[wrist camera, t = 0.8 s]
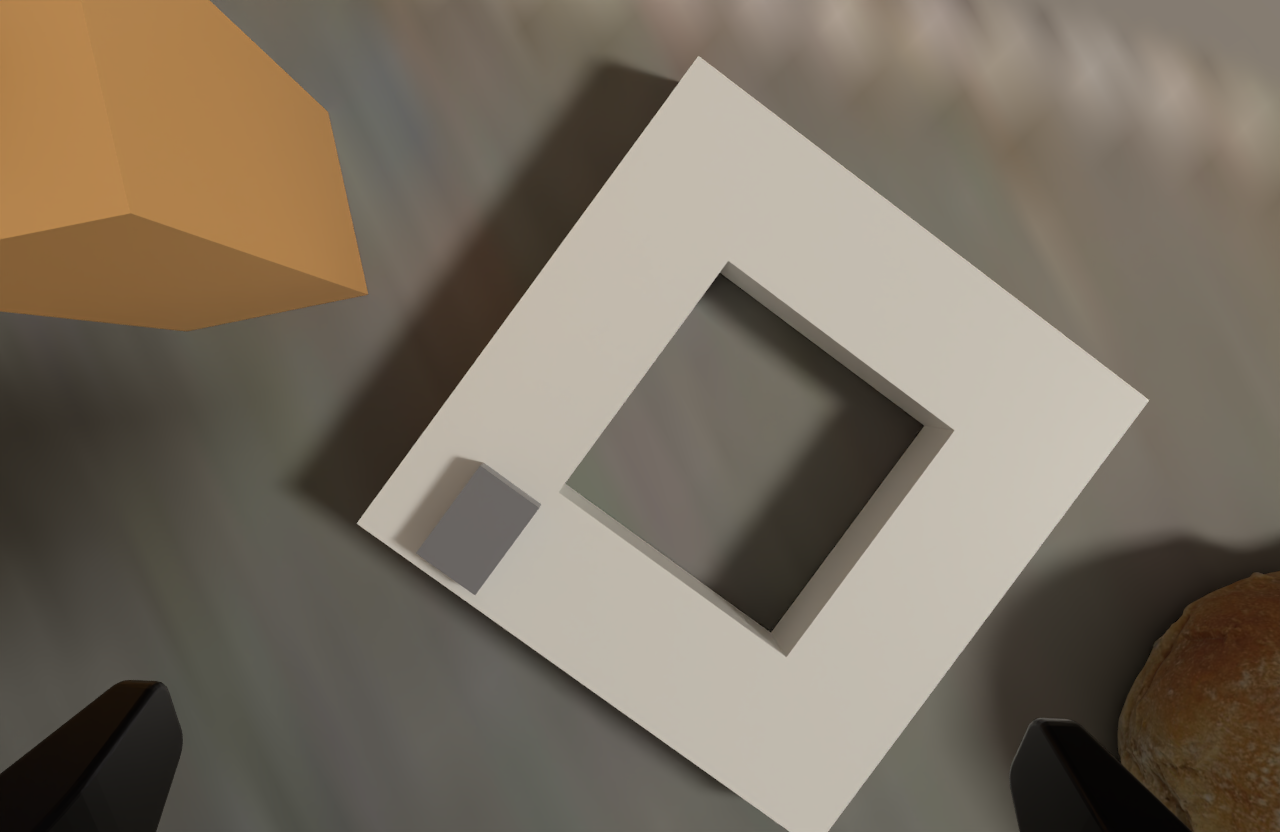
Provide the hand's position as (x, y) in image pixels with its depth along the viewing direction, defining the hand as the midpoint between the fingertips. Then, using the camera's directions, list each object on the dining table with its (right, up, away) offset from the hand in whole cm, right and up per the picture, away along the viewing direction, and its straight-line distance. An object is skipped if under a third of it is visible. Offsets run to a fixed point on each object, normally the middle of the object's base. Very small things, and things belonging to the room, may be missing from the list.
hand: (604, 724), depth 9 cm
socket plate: (+3, +2, +13) cm, 14 cm away
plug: (-9, +8, +13) cm, 17 cm away
